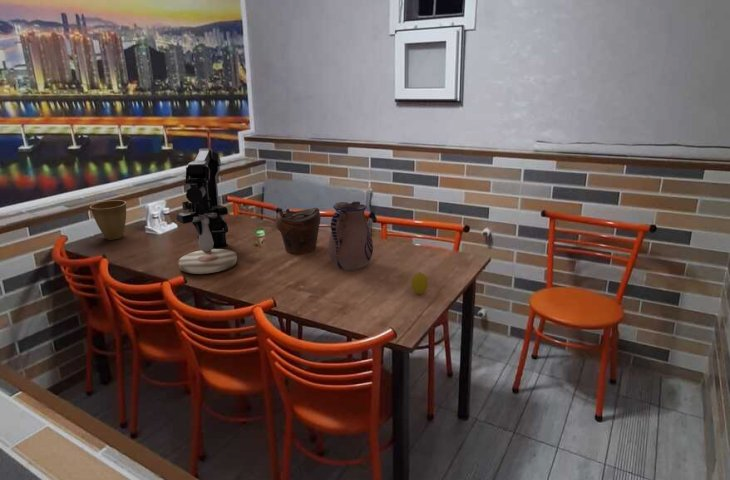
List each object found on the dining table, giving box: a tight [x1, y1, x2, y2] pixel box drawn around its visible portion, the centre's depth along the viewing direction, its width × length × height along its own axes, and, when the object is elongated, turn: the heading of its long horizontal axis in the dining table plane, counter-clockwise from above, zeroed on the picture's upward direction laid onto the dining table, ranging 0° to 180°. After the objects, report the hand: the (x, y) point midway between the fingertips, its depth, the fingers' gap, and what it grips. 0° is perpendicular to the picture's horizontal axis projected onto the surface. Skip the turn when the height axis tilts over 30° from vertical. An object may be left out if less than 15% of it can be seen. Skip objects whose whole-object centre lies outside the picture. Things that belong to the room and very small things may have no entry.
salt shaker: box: [198, 216, 214, 252], centre depth 194 cm, size 6×6×13 cm
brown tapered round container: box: [275, 207, 322, 255], centre depth 213 cm, size 18×20×18 cm
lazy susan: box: [178, 248, 238, 275], centre depth 197 cm, size 22×22×6 cm
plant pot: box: [89, 199, 127, 241], centre depth 231 cm, size 15×15×16 cm
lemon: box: [411, 272, 429, 295], centre depth 170 cm, size 6×6×8 cm
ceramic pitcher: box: [327, 201, 374, 271], centre depth 191 cm, size 18×21×25 cm
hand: (205, 235), depth 194 cm, fingers closed on salt shaker, 3 cm apart
